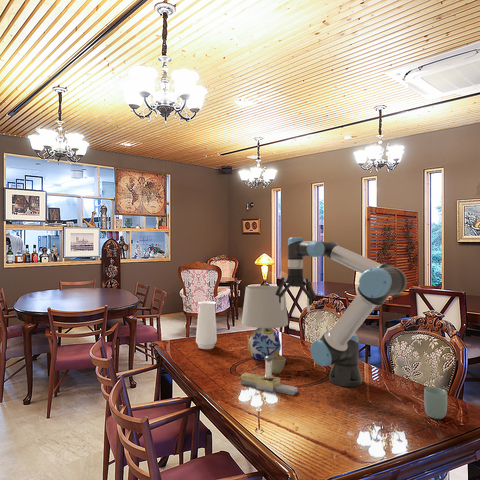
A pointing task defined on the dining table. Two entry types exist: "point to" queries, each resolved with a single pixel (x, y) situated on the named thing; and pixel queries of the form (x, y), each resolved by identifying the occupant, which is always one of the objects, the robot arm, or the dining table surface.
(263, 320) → the table lamp
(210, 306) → the vase
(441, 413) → the cup
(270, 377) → the pin
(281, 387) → the bar with brass collar
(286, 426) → the dining table surface
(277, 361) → the flower pot
